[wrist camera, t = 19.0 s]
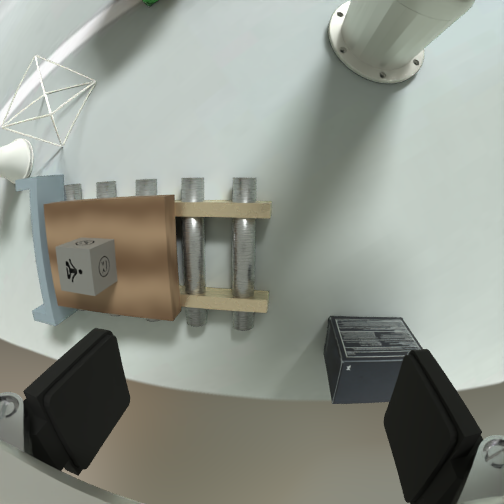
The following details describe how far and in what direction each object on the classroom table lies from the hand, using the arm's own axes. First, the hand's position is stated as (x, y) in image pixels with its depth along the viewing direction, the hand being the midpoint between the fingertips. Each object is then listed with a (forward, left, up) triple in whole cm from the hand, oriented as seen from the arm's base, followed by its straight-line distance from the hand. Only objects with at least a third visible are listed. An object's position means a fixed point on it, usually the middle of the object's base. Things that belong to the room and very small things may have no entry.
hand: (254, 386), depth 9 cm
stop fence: (+3, -33, -28) cm, 44 cm away
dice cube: (+3, -21, -22) cm, 31 cm away
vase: (-11, -42, -29) cm, 52 cm away
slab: (+3, -21, -25) cm, 33 cm away
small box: (+14, +12, -29) cm, 34 cm away
